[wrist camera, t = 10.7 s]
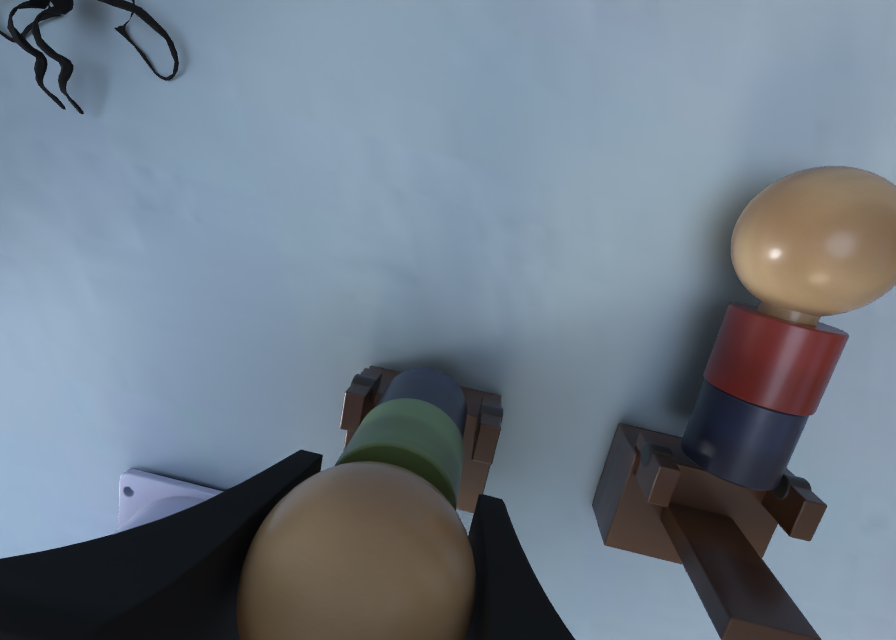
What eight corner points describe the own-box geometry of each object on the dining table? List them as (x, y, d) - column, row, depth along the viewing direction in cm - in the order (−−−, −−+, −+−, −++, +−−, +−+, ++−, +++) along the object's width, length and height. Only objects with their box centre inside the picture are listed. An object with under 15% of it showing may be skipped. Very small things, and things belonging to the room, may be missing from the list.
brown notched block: (480, 478, 21) (469, 627, 13) (357, 448, 21) (281, 578, 14) (505, 379, 19) (508, 483, 12) (374, 348, 20) (300, 433, 12)
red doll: (757, 446, 18) (836, 521, 14) (643, 420, 18) (686, 486, 14) (867, 185, 16) (1004, 179, 11) (733, 159, 16) (818, 143, 12)
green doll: (501, 363, 16) (473, 476, 17) (373, 334, 16) (354, 447, 17) (499, 621, 6) (435, 835, 7) (184, 540, 6) (172, 760, 8)
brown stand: (721, 536, 20) (847, 725, 13) (591, 505, 20) (641, 671, 13) (763, 438, 19) (928, 585, 12) (623, 406, 19) (699, 529, 12)
